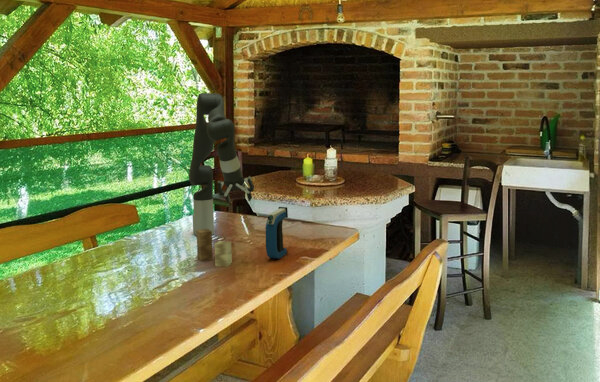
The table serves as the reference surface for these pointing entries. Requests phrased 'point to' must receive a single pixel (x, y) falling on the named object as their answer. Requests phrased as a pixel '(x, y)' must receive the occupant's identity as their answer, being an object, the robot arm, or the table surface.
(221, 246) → the beech block
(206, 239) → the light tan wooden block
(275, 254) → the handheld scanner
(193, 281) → the table surface
